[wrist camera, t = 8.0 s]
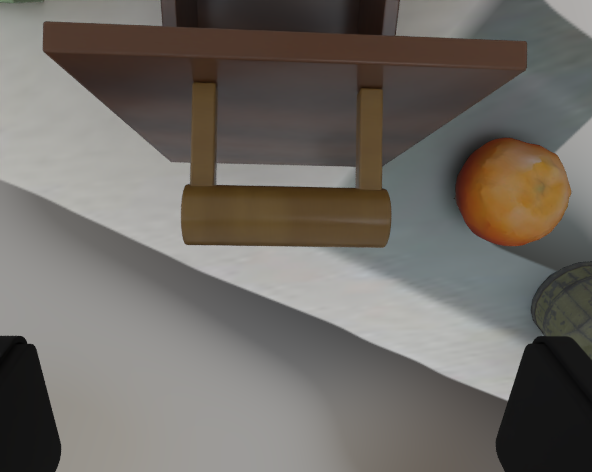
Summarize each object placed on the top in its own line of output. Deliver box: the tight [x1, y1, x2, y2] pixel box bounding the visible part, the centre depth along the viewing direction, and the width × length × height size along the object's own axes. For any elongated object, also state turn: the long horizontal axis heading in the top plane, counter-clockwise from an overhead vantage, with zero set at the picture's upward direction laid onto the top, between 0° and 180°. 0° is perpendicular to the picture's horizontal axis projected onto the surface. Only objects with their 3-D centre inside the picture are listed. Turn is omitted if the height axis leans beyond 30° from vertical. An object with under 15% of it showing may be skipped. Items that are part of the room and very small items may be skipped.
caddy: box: [161, 0, 400, 36], centre depth 30 cm, size 16×13×9 cm
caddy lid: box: [43, 21, 527, 248], centre depth 21 cm, size 16×13×6 cm
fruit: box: [454, 138, 571, 246], centre depth 38 cm, size 8×8×8 cm
